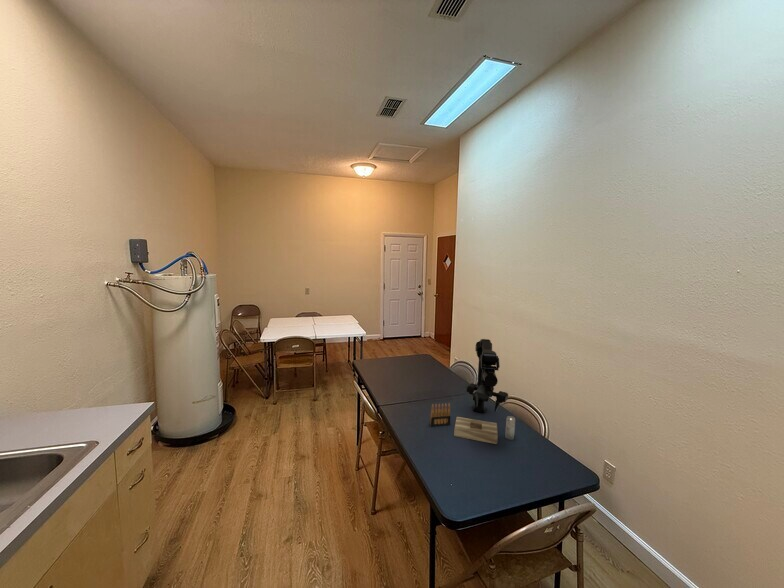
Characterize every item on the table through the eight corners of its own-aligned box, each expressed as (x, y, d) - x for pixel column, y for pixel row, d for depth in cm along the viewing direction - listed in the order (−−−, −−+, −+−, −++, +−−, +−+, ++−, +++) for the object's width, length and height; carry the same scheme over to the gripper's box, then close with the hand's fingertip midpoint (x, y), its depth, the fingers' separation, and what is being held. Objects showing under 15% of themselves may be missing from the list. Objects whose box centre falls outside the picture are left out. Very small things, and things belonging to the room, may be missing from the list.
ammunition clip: (430, 426, 163) (431, 404, 162) (429, 424, 165) (430, 403, 164) (450, 425, 165) (451, 403, 164) (449, 423, 167) (450, 401, 165)
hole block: (456, 423, 167) (456, 416, 166) (496, 430, 161) (496, 423, 161) (454, 436, 155) (454, 428, 155) (497, 444, 150) (497, 436, 149)
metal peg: (504, 434, 158) (506, 415, 157) (513, 435, 157) (515, 416, 156) (505, 438, 154) (506, 419, 153) (514, 440, 153) (515, 420, 152)
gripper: (462, 378, 151) (460, 409, 153) (502, 389, 140) (500, 422, 142) (471, 371, 160) (469, 401, 162) (509, 381, 149) (507, 412, 151)
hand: (485, 409), depth 154 cm, fingers open, 9 cm apart
